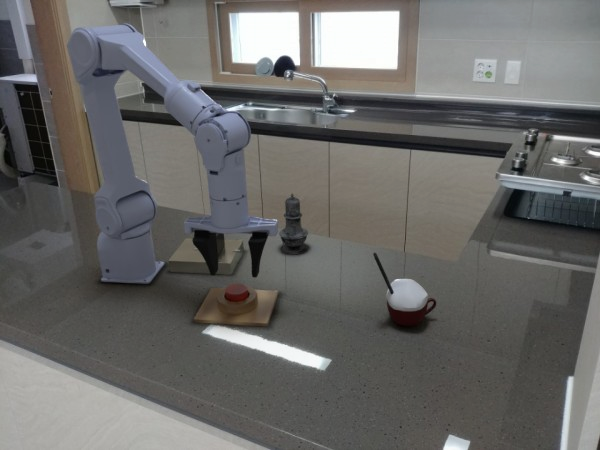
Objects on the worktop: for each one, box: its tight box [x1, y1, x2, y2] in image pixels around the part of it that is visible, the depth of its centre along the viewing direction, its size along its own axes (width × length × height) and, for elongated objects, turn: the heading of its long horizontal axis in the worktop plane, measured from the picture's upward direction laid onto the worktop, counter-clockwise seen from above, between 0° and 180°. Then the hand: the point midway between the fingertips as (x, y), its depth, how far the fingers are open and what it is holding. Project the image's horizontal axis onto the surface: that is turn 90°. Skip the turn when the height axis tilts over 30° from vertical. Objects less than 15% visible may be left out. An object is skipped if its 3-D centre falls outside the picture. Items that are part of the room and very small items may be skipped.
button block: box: [193, 285, 280, 328], centre depth 89 cm, size 12×10×2 cm
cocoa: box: [372, 252, 437, 327], centre depth 82 cm, size 10×6×12 cm, turn 71°
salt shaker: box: [278, 193, 309, 255], centre depth 107 cm, size 6×6×12 cm
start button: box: [225, 283, 248, 302], centre depth 88 cm, size 4×4×2 cm
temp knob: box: [216, 233, 225, 256], centre depth 103 cm, size 5×2×4 cm, turn 172°
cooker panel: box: [168, 237, 245, 276], centre depth 105 cm, size 13×10×3 cm
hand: (235, 273), depth 87 cm, fingers open, 6 cm apart
